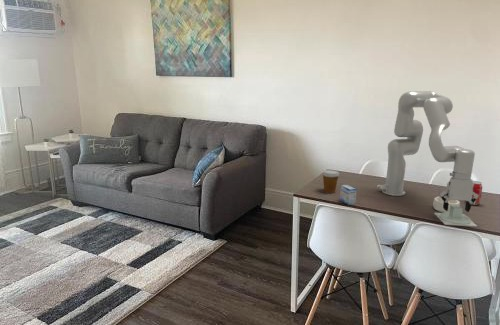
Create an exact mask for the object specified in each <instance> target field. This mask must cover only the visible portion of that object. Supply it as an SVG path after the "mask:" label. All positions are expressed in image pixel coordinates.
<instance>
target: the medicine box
mask: <svg viewBox="0 0 500 325" xmlns="http://www.w3.org/2000/svg"><path fill="white" fill-rule="evenodd" d="M357 190H358V189H357V188H355V187H353V186H351V185H350V184H349V185H348V184H343V185H341V186H340V195H339V201H340V202H342V203H344V204H346V205H348V206H350V205H355V204H356V202H357V200H356V199H357Z"/></svg>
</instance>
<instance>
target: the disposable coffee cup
mask: <svg viewBox="0 0 500 325" xmlns="http://www.w3.org/2000/svg"><path fill="white" fill-rule="evenodd" d="M339 176H340V172H339V171H338V170H335V169H325V170H323V171H322V180H323V192H324V193H327V194H335V193H336V189H337V184H338V179H339Z"/></svg>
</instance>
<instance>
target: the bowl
mask: <svg viewBox="0 0 500 325" xmlns="http://www.w3.org/2000/svg"><path fill="white" fill-rule="evenodd" d="M445 197H446V196H444V198H445ZM448 202H450V203H449V205H448V211H446V210H444V208H443V204H444V201H443V200H442V199H441V197H440V196H435V197H434V198H433V204H432V207H433V209H434V211H437V212H438V213H443V212H450V206H451V205H452V206H460V207H461V202H460V200H450V201H448Z"/></svg>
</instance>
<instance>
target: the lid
mask: <svg viewBox="0 0 500 325" xmlns="http://www.w3.org/2000/svg"><path fill="white" fill-rule="evenodd" d="M463 209H464V208H463V207H462V206H461V205H460V206H452V205H451V206H450V212H440V213H441V214H440V218H441V219H442V220H444V221H447V222H450V223H454V224H469V223H470V221H472V218H471V217H469V216H467V215H466V214H464V215H463V212H464V211H463Z"/></svg>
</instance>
